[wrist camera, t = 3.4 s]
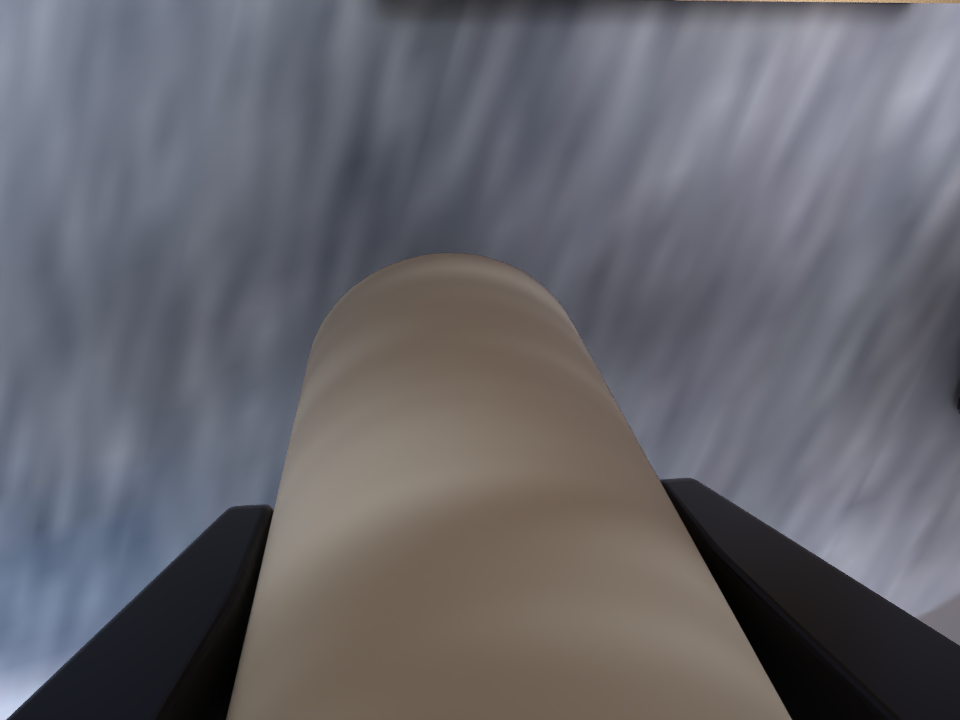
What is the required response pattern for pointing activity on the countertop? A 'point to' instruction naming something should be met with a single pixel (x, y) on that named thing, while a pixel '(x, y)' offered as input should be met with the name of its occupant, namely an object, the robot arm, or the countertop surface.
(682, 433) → the countertop surface
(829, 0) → the seat board
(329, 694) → the stool leg
